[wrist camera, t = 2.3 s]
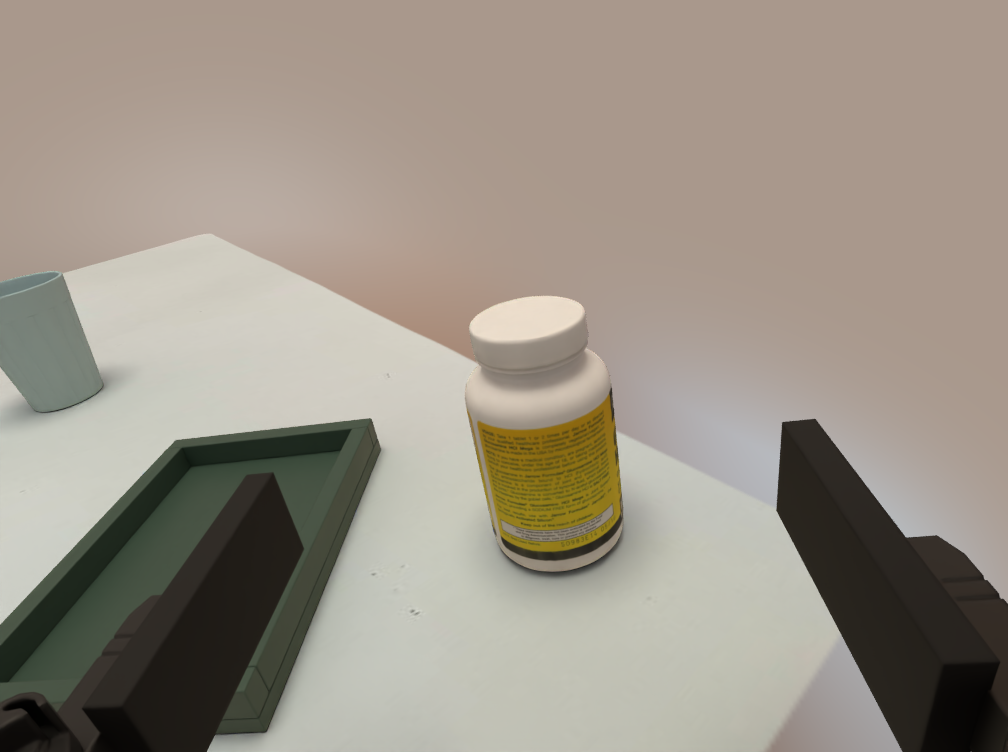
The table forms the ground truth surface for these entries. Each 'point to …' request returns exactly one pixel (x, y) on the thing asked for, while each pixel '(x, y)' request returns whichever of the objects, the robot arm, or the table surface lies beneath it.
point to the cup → (45, 343)
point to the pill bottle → (544, 433)
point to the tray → (168, 543)
